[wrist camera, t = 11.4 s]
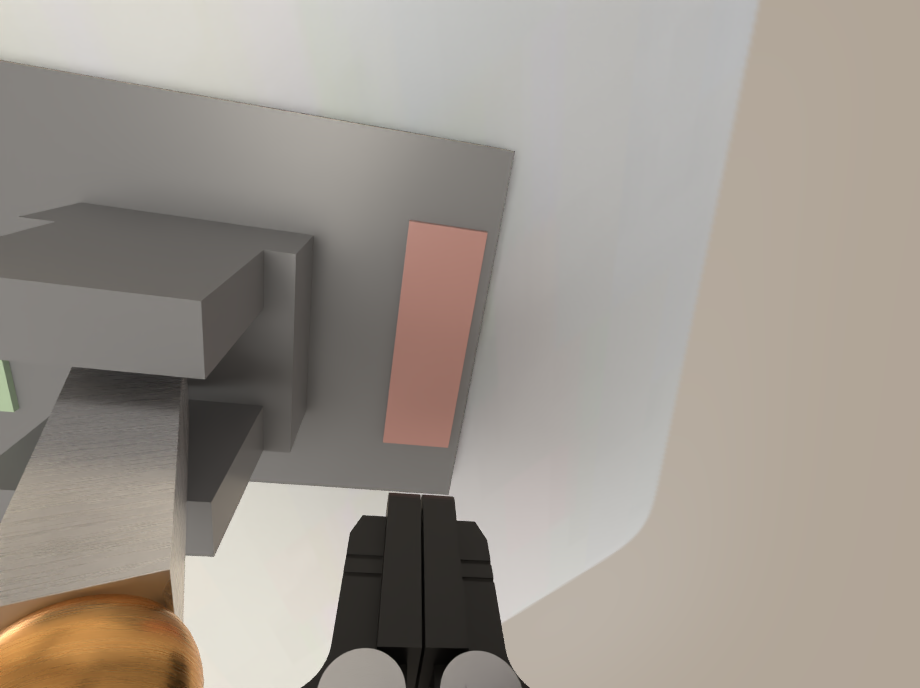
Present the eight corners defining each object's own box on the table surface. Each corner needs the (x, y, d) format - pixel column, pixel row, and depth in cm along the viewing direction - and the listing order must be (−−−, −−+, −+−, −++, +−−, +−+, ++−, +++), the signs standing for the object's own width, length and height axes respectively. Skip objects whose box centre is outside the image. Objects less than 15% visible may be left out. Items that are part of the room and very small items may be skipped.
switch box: (-128, 37, 16) (-811, -76, 7) (505, 149, 20) (586, 168, 10) (-21, 433, 23) (-314, 640, 13) (445, 468, 26) (464, 655, 17)
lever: (75, 314, 14) (-237, 884, 4) (198, 313, 16) (198, 730, 6) (90, 406, 16) (-119, 1021, 5) (203, 398, 17) (209, 865, 7)
